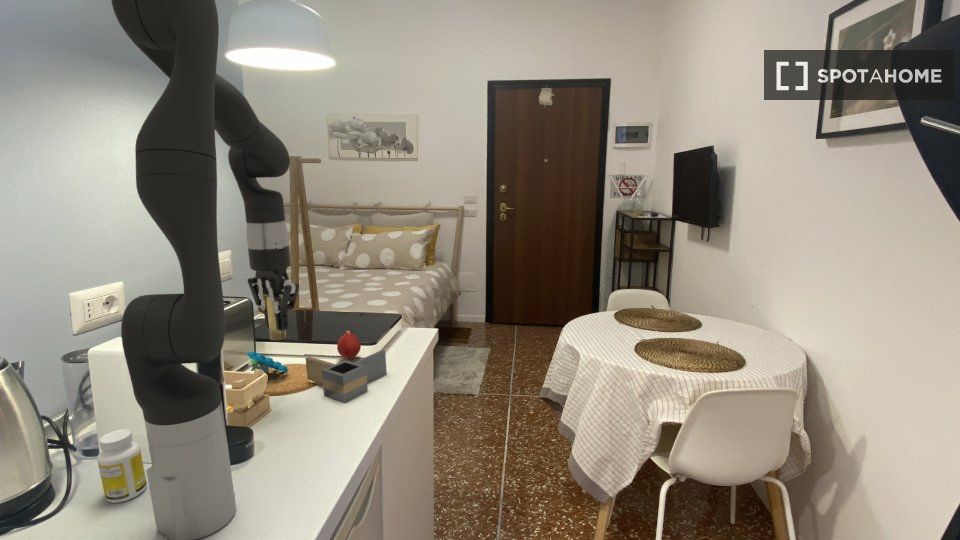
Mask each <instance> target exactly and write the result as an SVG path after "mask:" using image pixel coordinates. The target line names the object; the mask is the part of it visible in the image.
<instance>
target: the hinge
mask: <svg viewBox="0 0 960 540" xmlns="http://www.w3.org/2000/svg"><path fill="white" fill-rule="evenodd" d="M386 355H387V354H386V350H385V349H381V350H379V351H376V352H374V353H372V354H370V355H368V356H366V357H363V358H360V359H359V360H356V361H354V362H353V361H351V360H347V359H344V360H342V361H339V362H338V363H333V362H329V361H327V360H322V359H319V358H316V357H313V356H307V357H305V368H306V376H307V377H306V378H307V380H308V379H309V380H312V381H314V382H315V383H316V384H317V385H316V386H318V387H321V386H322V387H321V388H322V389H323V396H324V397H325V398H326V397H327V398H330V399H332V400H335V401H338V402H340V403H344V404H346V403H348V402H350V401H352V400H353V399H355V398H357V397H359V396H361V395H364V394H365V393H367V392H369V390H368V385H369V384H370V383H373V382H375V381H376V380H379V379H380V378H382V377H384V376H386V375H387V357H386Z"/></svg>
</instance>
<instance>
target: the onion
mask: <svg viewBox="0 0 960 540" xmlns="http://www.w3.org/2000/svg"><path fill="white" fill-rule="evenodd" d="M361 345H362V344H361V341H360V339H359V337H357V336H356V335H355V334H353V333H351V332H350V330H346V331H345V333H344V334H343V335H342V336H341V337H340V338H339V340H338V341H337V344H336V348H337V352H338V353H339V355H340V356H341V357H343V358H344V359H345V360H347V361H352V360H353V359H355V357H356V356H357V355H358V354H359V353H360V350H361V347H362V346H361Z"/></svg>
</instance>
